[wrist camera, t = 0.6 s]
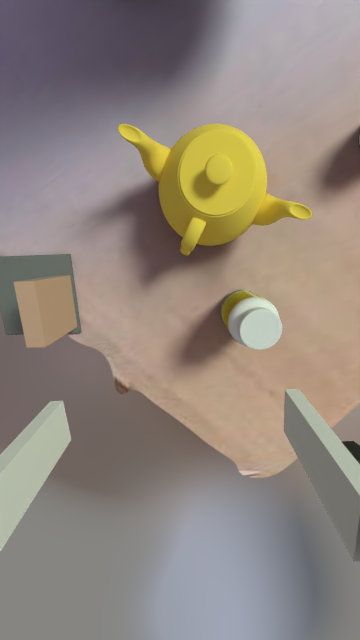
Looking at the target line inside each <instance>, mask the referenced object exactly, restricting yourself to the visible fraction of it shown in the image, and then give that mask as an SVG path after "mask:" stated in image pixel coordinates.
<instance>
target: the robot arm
mask: <svg viewBox="0 0 360 640" xmlns="http://www.w3.org/2000/svg"><path fill="white" fill-rule="evenodd" d="M284 432H285V434H286V436H287V438H288V440H289V442H290V443H291V445H292V447H293V449H294V451H295V453H296V455H297V456H298V458H299V460H300V462H301V464H302V466H303V468H304V470H305V471H306V473H307V475H308V477H309V478H310V481H311V483H312V484H313V486H314V488H315V490H316V492H317V494H318V496H319V498H320V499H321V501H322V503H323V505H324V507H325V509H326V511H327V513H328V514H329V516H330V518H331V520H332V522H333V524H334V525H335V527H336V529H337V531H338V533H339V535H340V537H341V539H342V541H343V542H344V544H345V546H346V548H347V550H348V552H349V554H350V555H351V557H352V559H353V561H360V445H358V444H357V443H355V442H354V441H346V442H341V441H340V440H339V438H338V437H337V436H336V434H335V433H334V432H333V431H332V430H331V428H330V427H329V426H328V425H327V423H326V422H325V421H324V420H323V418H322V417H321V416H320V415H319V413H318V412H317V411H316V410H315V409H314V407H313V406H312V405H311V404H310V402H309V401H308V400H307V399H306V397H305V396H304V395H303V394H302V393H301V391H300V390H299V389H288V390H285V405H284ZM70 441H71V436H70V431H69V427H68V422H67V418H66V413H65V409H64V404H63V401H50V403H48V405H47V406H46V407H45V408H44V409H43V410H42V411H41V412H40V413H39V414H38V415H37V417H35V419H34V420H33V421H32V422H31V423H30V424H29V425H28V426H27V427H26V428H25V429H24V430H23V431H22V432H21V433H20V434H19V435H18V436H17V438H16V439H15V440H14V441H13V442H12V443H11V444H10V445H9V446H8V447H7V448H6V449H5V450H4V451H3V452H2V454H1V455H0V551H1V550H2V548H3V546H4V545H5V543H6V542H7V540H8V539H9V537H10V535H11V534H12V532H13V531H14V529H15V527H16V526H17V524H18V523H19V521H20V520H21V518H22V516H23V515H24V513H25V512H26V510H27V509H28V507H29V505H30V504H31V502H32V501H33V499H34V498H35V496H36V494H37V493H38V491H39V490H40V488H41V487H42V485H43V483H44V482H45V480H46V479H47V477H48V475H49V474H50V472H51V471H52V469H53V468H54V466H55V464H56V463H57V461H58V460H59V458H60V456H61V455H62V453H63V452H64V450H65V449H66V447H67V445H68V444H69V442H70Z"/></svg>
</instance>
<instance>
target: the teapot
mask: <svg viewBox="0 0 360 640" xmlns="http://www.w3.org/2000/svg"><path fill="white" fill-rule="evenodd" d="M118 131H119V133H120V134H121V136H122V137H123V138H125V139H126V140H127V141H129V142H130V143H131V144H133V145H134V146H135V147H136V148H137V149H138V151H139V152H140V154H141V157H142V161H143V164H144V166H145V168H146V170H147V172H148V173H149V174H150V175H151V176H152V177H153V178H154V179H156V180H157V181H158V182H159V199H160V204H161V208H162V211H163V213H164V216H165V218H166V220H167V221H168V223H169V224H170V226H171V227H172V228H173V229H174V230H175V231H176V232H177V233H178V234H179V235H180V236H182V237H183V239H182V241H181V245H182V246H181V249H180V251H181V253H182V254H184V255H189V254H190V253H191V251H192V250H194V248H195V246H196V244H199V245H206V246H214V245H221V244H224V243H227V242H230V241H232V240H234V239H236V238H237V237H239V236H240V235H242V234H243V233H244V232H245V231H246V230H247V229H248V228H249V227H250V226H251V225H252V224H255V225H269V224H272V223H274V222H276V221H278V220H279V219H281V218H284V217H293V218H297V219H309V218H311V217H312V212H311V210H310V209H309V208H307V207H306V206H304V205H302V204H299V203H296V202H291V201H285V200H281V199H278V198H276V197H273V196H271V195H269V194H267V193H266V188H267V173H266V167H265V163H264V160H263V157H262V154H261V153H260V151H259V149H258V147H257V146H256V144H255V143H254V142H253V141H252V140H251V138H250V137H249V136H247V135H246V134H245V133H244V132H242V131H240V130H238V129H237V128H234V127H232V126H228V125H224V124H208V125H204V126H200V127H198V128H195V129H193V130H192V131H190V132H188V133H187V134H185V135H184V136H183V137H181V138H180V139H179V140H178V141H177V142H176V144H175V145H174V146H173V148H172V149H170V148H167V147H165V146H163V145H161V144H159V143H157V142H155V141H153V140H152V139H151V138H149V137H148V136H147V135H146V134H144V133H143V132H142V131H140V130H139V129H137V128H135V127H133V126H131V125H128V124H120V125H119V126H118Z"/></svg>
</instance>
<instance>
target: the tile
mask: <svg viewBox="0 0 360 640" xmlns="http://www.w3.org/2000/svg"><path fill="white" fill-rule="evenodd" d="M14 287H15V292H16V297H17V302H18V307H19V312H20V317H21V322H22V327H23V332H24V337H25V342H26V347H27V348H31V347H32V348H33V347H34V348H35V347H47V346H48V345H50V344H52V343H53V342H55V341H56V340H58V339H59V338H61V337H63V336H64V335H66V334H67V333H69V332H70V331H72V330H73V329H75V328H77V320H76V313H75V306H74V299H73V292H72V285H71V278H70V275H59V276H49V277H42V278H35V279H29V280H22V281H15V282H14Z"/></svg>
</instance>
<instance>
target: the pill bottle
mask: <svg viewBox="0 0 360 640" xmlns="http://www.w3.org/2000/svg"><path fill="white" fill-rule="evenodd" d="M221 317H222V320H223V321H224V323H225V325H226V327H227V328H228V330H229V332H230V334H231V336H232V337H233V338H234V339H235V340H236V341H237V342H239V343H240V344H242V345H245V346H248V347H250V348H252V349H256V350H262V349H267V348H269V347H271V346H273V345H274V344H275V343H276V342H277V341H278V340H279V338H280V336H281V333H282V323H281V321H280V319H279V314H278V312H277V310H276V308H275V307H274V306H273V304H271V303H270V302H269V301H267V300H266V299H264V298H262V297H260V296H259V295H257V294H255V293H253V292H251V291H248V290H236V291H233V292H231V293H230V294H228V295H227V296H226V297H225V299H224V300H223V302H222V305H221Z"/></svg>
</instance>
